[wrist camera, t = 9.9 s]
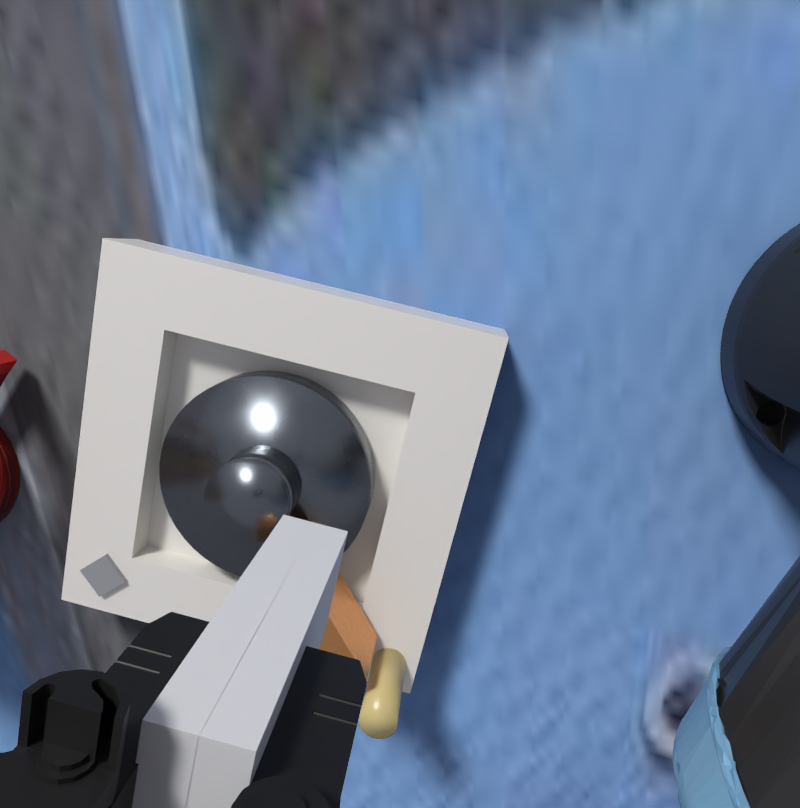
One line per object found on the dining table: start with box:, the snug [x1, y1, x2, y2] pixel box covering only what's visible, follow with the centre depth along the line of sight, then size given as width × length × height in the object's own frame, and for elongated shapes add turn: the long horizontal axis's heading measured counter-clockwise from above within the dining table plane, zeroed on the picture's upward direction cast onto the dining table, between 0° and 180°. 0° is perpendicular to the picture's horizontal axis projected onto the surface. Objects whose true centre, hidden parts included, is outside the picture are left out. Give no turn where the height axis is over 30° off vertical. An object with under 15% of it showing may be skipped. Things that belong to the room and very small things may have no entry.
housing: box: [61, 238, 509, 739], centre depth 36 cm, size 22×22×9 cm
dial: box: [159, 371, 377, 680], centre depth 36 cm, size 17×12×6 cm
